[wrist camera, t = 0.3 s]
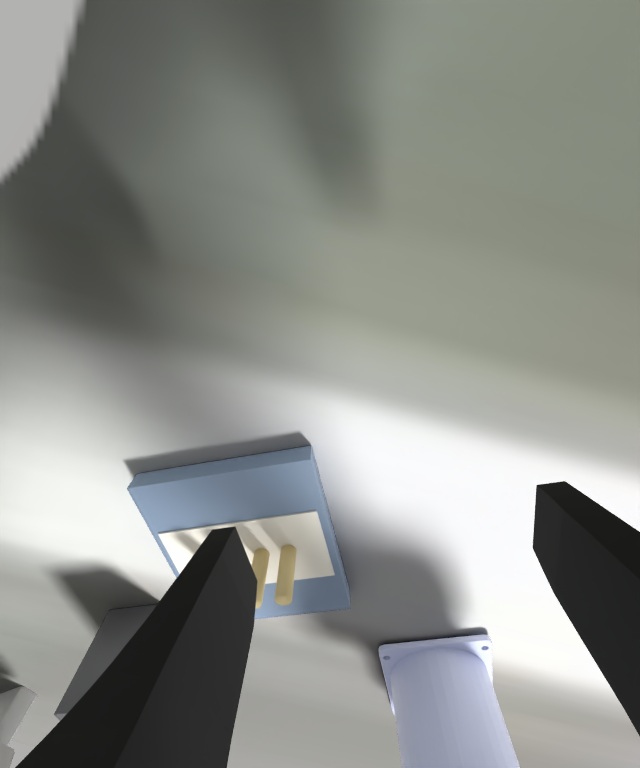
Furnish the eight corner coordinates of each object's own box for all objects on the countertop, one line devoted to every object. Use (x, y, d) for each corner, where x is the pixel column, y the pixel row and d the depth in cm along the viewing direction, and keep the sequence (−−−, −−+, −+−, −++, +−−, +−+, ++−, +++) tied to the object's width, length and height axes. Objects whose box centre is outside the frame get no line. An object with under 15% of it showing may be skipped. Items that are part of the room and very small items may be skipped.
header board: (349, 590, 25) (353, 661, 21) (208, 607, 26) (187, 678, 22) (311, 445, 20) (307, 504, 16) (137, 473, 21) (94, 535, 17)
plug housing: (162, 603, 26) (119, 708, 21) (201, 667, 30) (173, 772, 24) (109, 609, 27) (53, 714, 21) (153, 672, 30) (115, 776, 25)
